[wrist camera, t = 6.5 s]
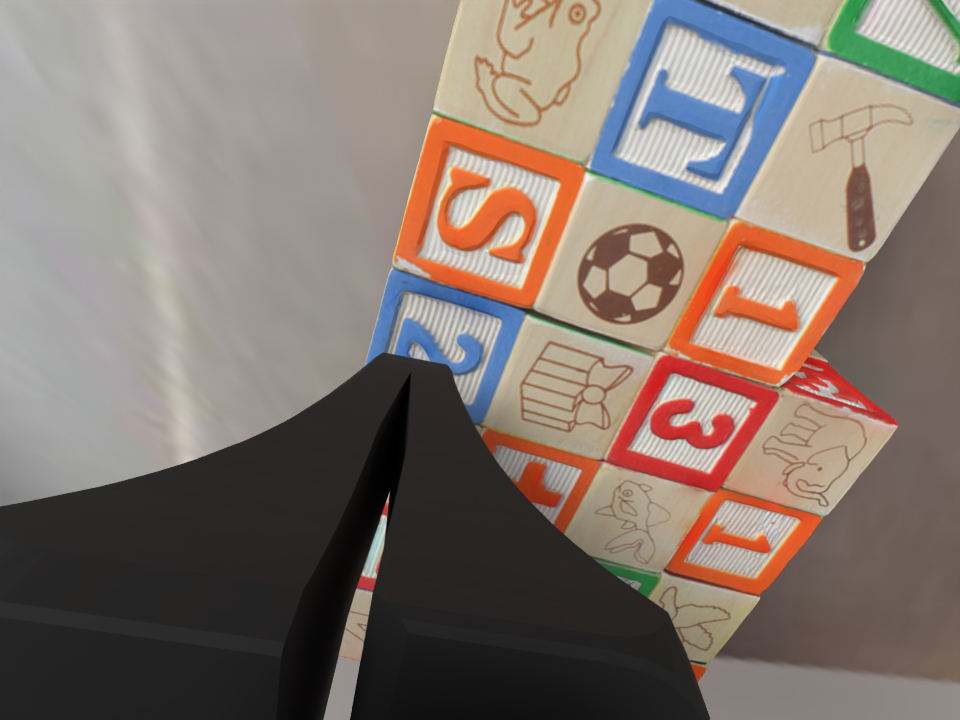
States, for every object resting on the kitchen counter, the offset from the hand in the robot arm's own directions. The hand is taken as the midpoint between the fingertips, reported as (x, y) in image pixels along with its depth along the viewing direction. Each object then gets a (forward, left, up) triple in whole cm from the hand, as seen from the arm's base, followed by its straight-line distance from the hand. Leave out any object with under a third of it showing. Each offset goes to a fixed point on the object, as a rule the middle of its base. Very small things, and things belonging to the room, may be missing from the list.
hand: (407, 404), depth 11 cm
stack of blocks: (-1, 0, -5) cm, 5 cm away
